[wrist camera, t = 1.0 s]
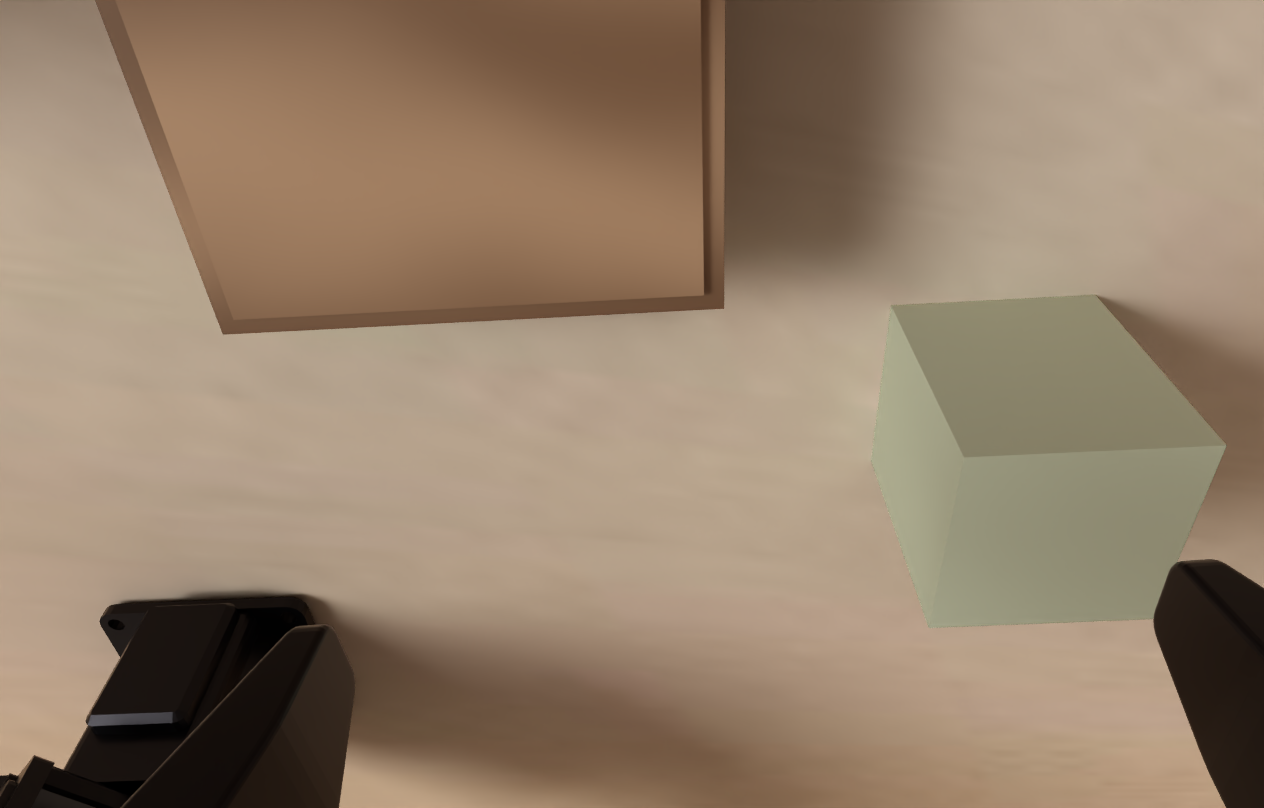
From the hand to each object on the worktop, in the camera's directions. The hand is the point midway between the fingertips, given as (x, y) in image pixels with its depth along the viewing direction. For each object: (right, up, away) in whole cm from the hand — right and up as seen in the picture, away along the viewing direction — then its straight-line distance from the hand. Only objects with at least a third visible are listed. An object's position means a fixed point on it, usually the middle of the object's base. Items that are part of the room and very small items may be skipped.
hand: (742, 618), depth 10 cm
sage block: (+8, +3, +14) cm, 16 cm away
